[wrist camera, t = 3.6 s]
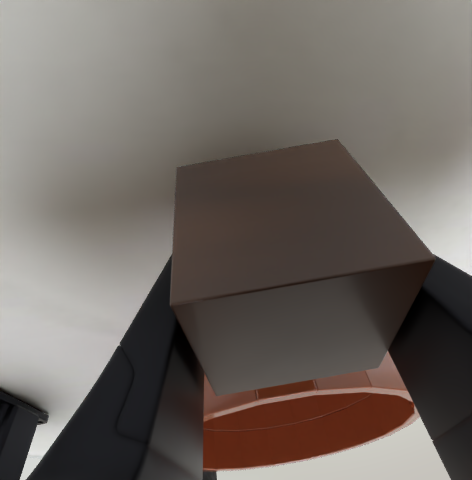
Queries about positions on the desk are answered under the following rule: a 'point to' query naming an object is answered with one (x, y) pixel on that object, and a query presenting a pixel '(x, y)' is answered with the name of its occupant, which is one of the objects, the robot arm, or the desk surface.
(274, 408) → the bowl
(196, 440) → the robot arm
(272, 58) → the desk surface
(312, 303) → the block
